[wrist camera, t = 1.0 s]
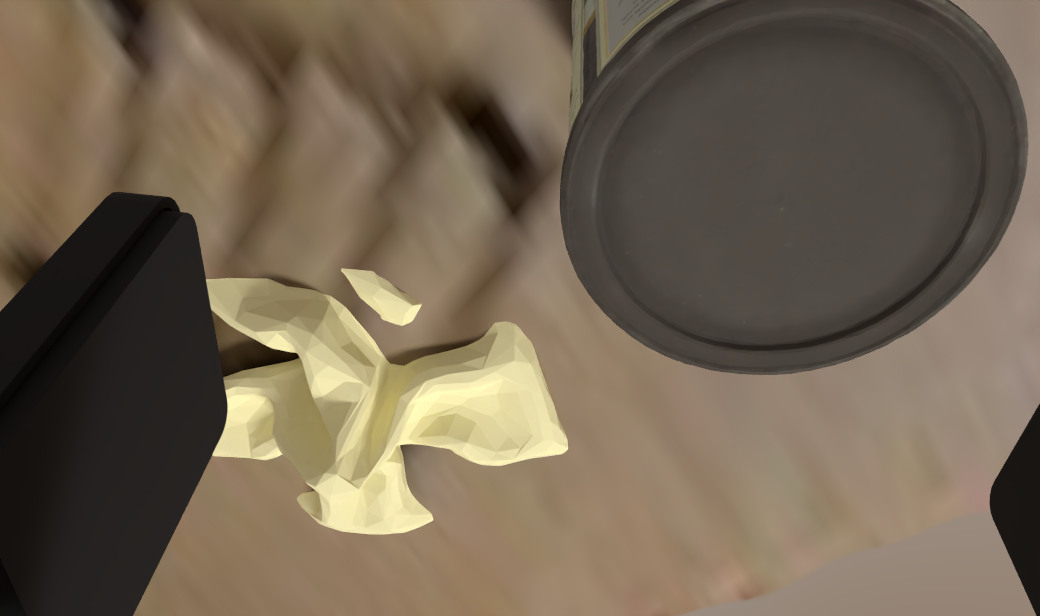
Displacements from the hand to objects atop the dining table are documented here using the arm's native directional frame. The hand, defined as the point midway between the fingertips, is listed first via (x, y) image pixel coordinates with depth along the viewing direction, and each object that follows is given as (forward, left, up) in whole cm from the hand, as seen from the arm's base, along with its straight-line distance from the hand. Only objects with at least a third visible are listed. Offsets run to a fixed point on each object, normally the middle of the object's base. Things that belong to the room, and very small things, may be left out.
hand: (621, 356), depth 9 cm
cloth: (+18, +18, -25) cm, 36 cm away
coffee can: (-3, +5, -25) cm, 25 cm away
